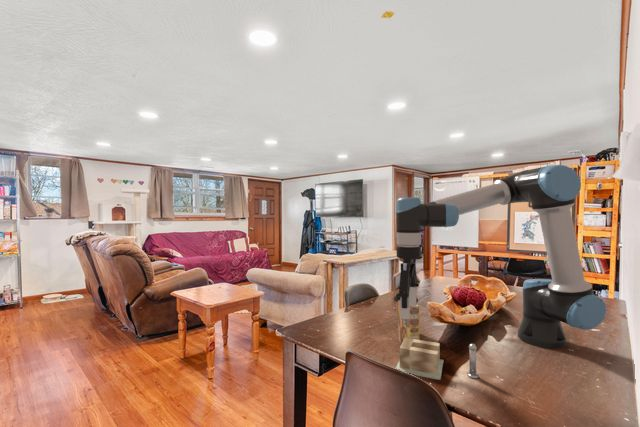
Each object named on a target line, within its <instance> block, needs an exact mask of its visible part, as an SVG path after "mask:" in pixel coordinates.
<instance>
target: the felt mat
mask: <svg viewBox="0 0 640 427" xmlns="http://www.w3.org/2000/svg"><path fill="white" fill-rule="evenodd" d="M443 365H444V359H440V363H439V365H438V374H437V375H435V374H430V373H425V372H420V371H415V370H411V369H406V368H401V367H400V359H399V360H398V362H397V364H396V366H395V369H396V368H397V369H400V370H402V371H406V372H409V373H411V374H410V375H413V374H414V375H413V376H419V377H423V378H426V379H427V378H428V379H433V380H437V381H441V380H442V372H443V367H444V366H443Z"/></svg>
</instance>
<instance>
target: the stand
mask: <svg viewBox="0 0 640 427" xmlns="http://www.w3.org/2000/svg"><path fill="white" fill-rule="evenodd" d="M477 348H478V347H477V345H476V344H475V343H470V344H468V349H469V350H468V351H469V352H468V353H469V354H468V355H469V359H468V360H469V370H468V372H467V373H466V375H467V377H468V378H471V379H475V380H477V379H479V374H478V373H477Z"/></svg>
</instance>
